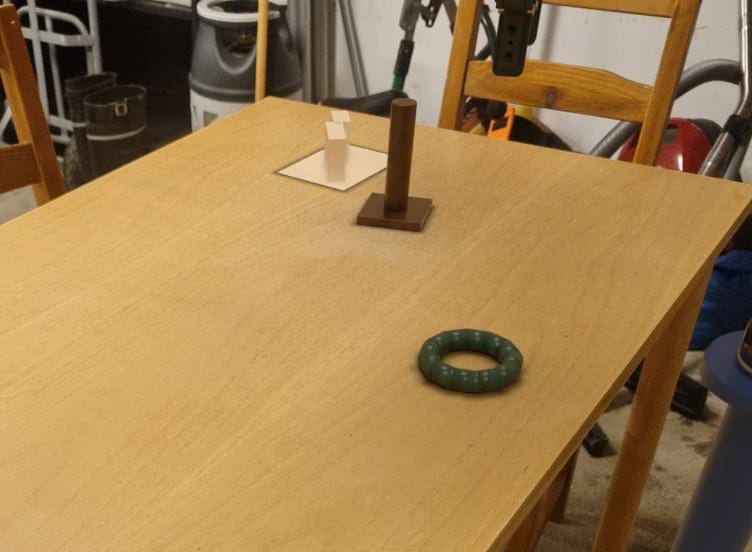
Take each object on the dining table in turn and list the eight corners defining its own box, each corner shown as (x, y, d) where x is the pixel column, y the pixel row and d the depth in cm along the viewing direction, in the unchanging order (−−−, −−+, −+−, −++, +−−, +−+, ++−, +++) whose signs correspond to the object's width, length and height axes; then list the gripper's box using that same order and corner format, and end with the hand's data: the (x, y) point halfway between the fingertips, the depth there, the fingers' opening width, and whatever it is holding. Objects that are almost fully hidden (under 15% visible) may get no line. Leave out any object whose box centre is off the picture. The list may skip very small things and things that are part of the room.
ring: (525, 351, 94) (529, 333, 93) (513, 402, 87) (517, 383, 86) (428, 337, 96) (430, 319, 95) (408, 386, 90) (410, 368, 88)
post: (431, 206, 120) (444, 94, 111) (419, 231, 115) (431, 115, 105) (371, 200, 122) (378, 88, 112) (356, 224, 116) (363, 109, 107)
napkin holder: (344, 190, 124) (347, 144, 120) (276, 172, 129) (276, 127, 125) (403, 157, 132) (406, 113, 128) (336, 142, 137) (338, 98, 133)
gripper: (616, -230, 52) (556, 91, 64) (626, -245, 62) (572, 37, 74) (483, -231, 54) (448, 83, 66) (513, -245, 63) (477, 31, 75)
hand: (514, 59), depth 70 cm, fingers open, 8 cm apart
